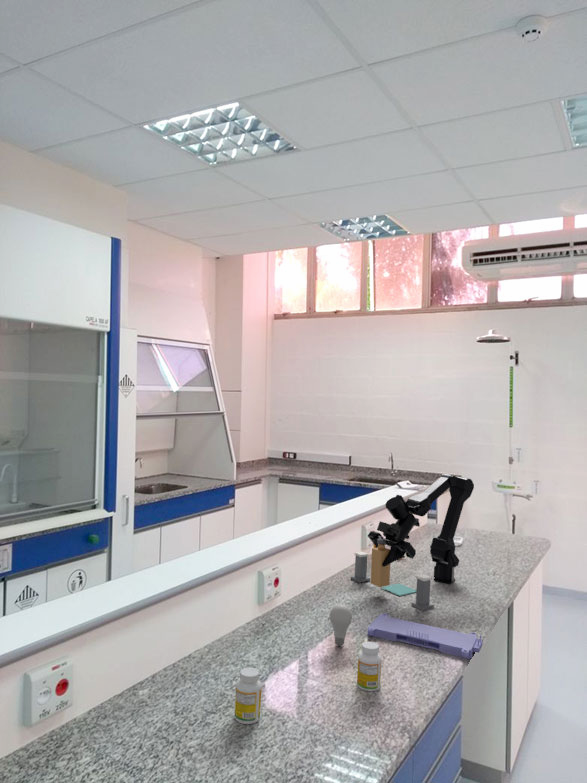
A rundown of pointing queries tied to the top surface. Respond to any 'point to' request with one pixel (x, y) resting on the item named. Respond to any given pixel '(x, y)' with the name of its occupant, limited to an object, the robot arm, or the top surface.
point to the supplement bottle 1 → (248, 696)
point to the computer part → (425, 636)
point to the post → (423, 593)
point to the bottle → (380, 565)
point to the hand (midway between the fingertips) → (377, 563)
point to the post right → (360, 567)
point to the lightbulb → (340, 622)
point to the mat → (399, 589)
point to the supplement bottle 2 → (369, 667)
